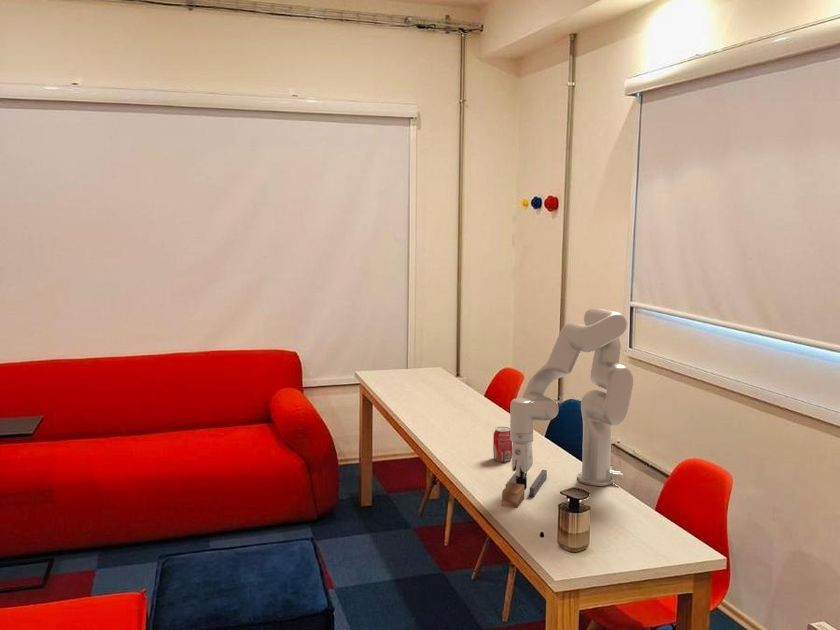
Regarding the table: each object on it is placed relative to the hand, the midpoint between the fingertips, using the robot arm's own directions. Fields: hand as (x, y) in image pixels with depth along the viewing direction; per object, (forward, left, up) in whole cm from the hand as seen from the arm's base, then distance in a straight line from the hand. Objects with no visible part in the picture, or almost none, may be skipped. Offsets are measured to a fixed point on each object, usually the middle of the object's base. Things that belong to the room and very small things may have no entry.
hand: (521, 488), depth 249 cm
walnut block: (+1, +8, -2) cm, 8 cm away
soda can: (+15, -29, -2) cm, 33 cm away
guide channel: (0, -7, -2) cm, 7 cm away
